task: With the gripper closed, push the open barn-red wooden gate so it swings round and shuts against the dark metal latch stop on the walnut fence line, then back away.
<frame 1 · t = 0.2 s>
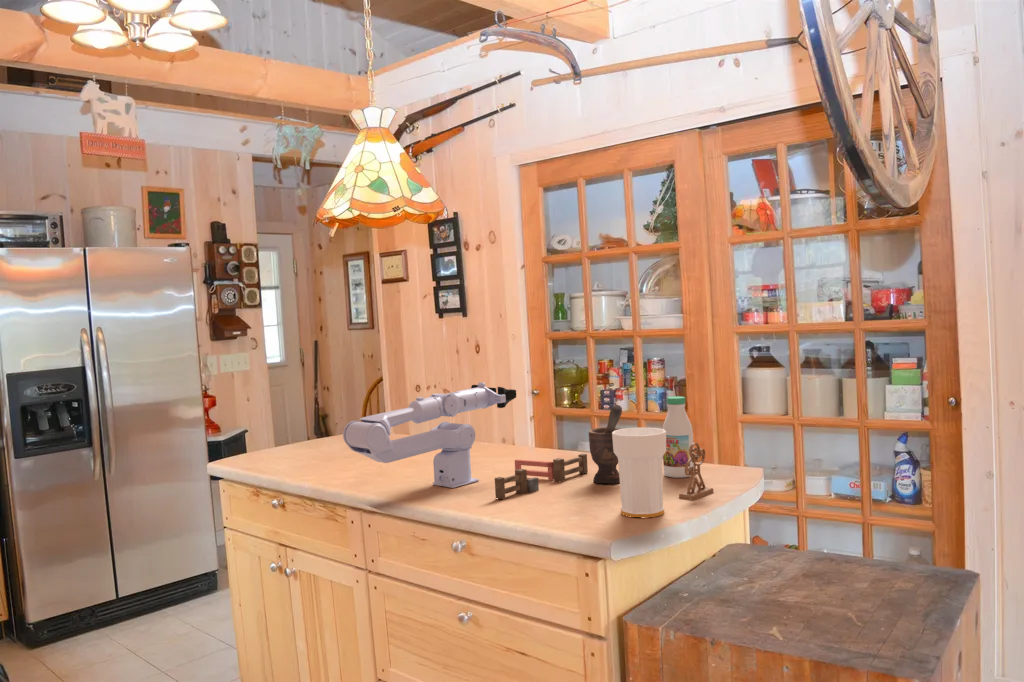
hand: (505, 392, 222), 21 cm above the table, tool horizontal, fingers open, 7 cm apart
milk bottle: (679, 476, 204), on the table
mortar and pestle: (612, 483, 200), on the table
gingerbread man figurine: (696, 496, 182), on the table
cup: (642, 513, 170), on the table
gate: (534, 469, 209), point 2 cm above the table, hinge at 80.0°
fence: (559, 480, 205), on the table
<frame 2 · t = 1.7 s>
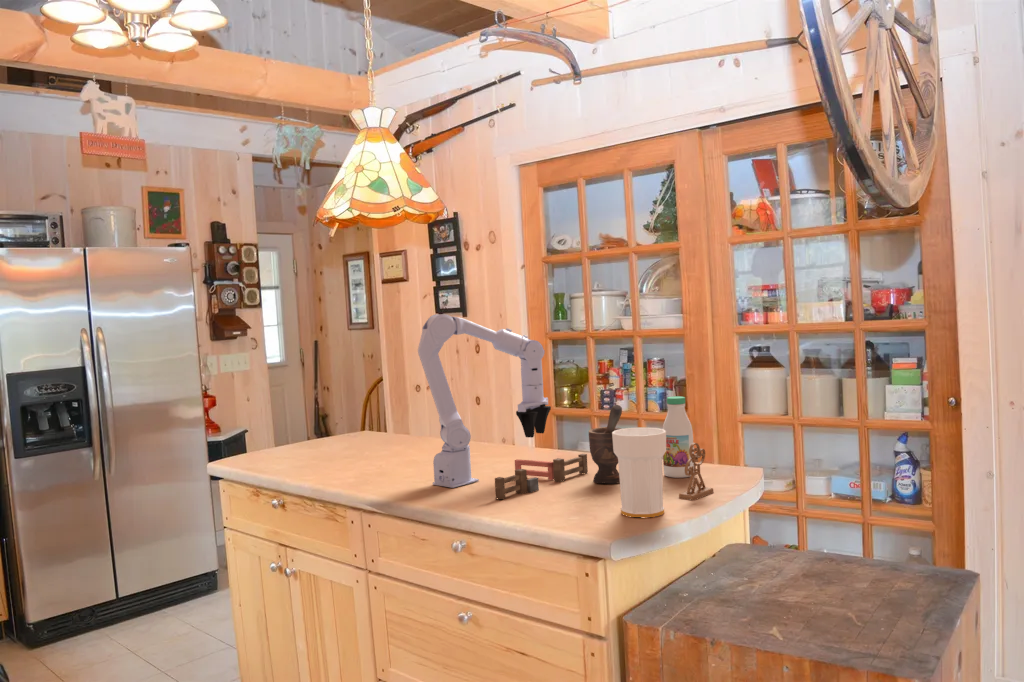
hand: (535, 435, 214), 10 cm above the table, tool pointing down, fingers open, 6 cm apart
nothing on the table moved.
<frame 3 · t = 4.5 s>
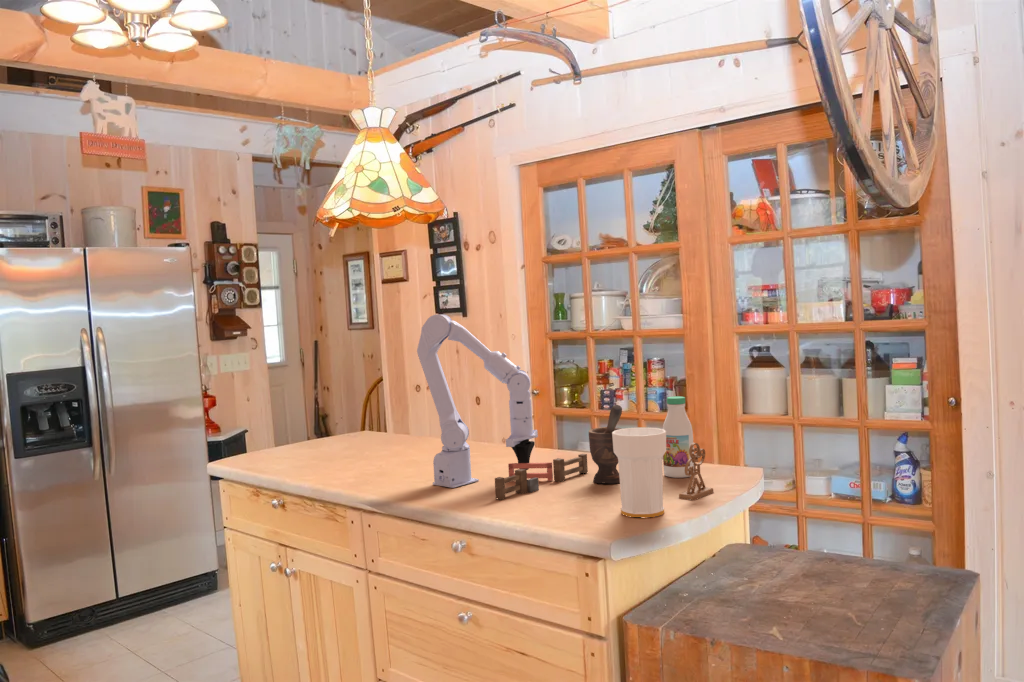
hand: (524, 469, 208), 3 cm above the table, tool pointing down, fingers closed, pressing on gate
gate: (530, 471, 206), point 2 cm above the table, hinge at 57.0°, touching gripper
everything else where it was.
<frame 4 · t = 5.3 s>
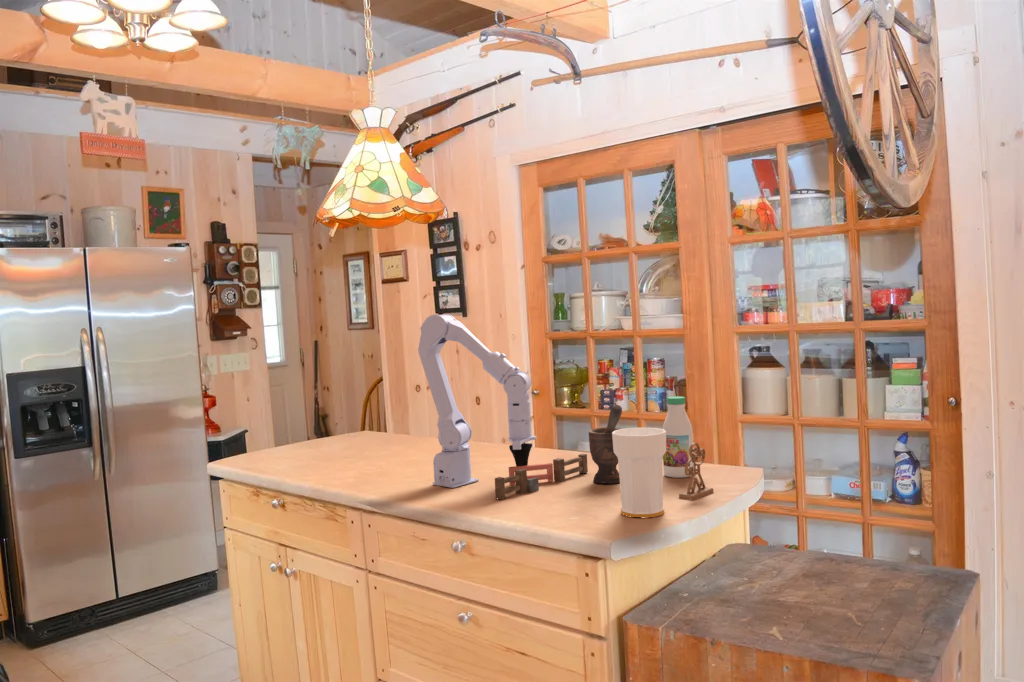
hand: (522, 472, 204), 3 cm above the table, tool pointing down, fingers closed, pressing on gate
gate: (531, 474, 203), point 2 cm above the table, hinge at 35.5°, touching gripper
everything else where it was.
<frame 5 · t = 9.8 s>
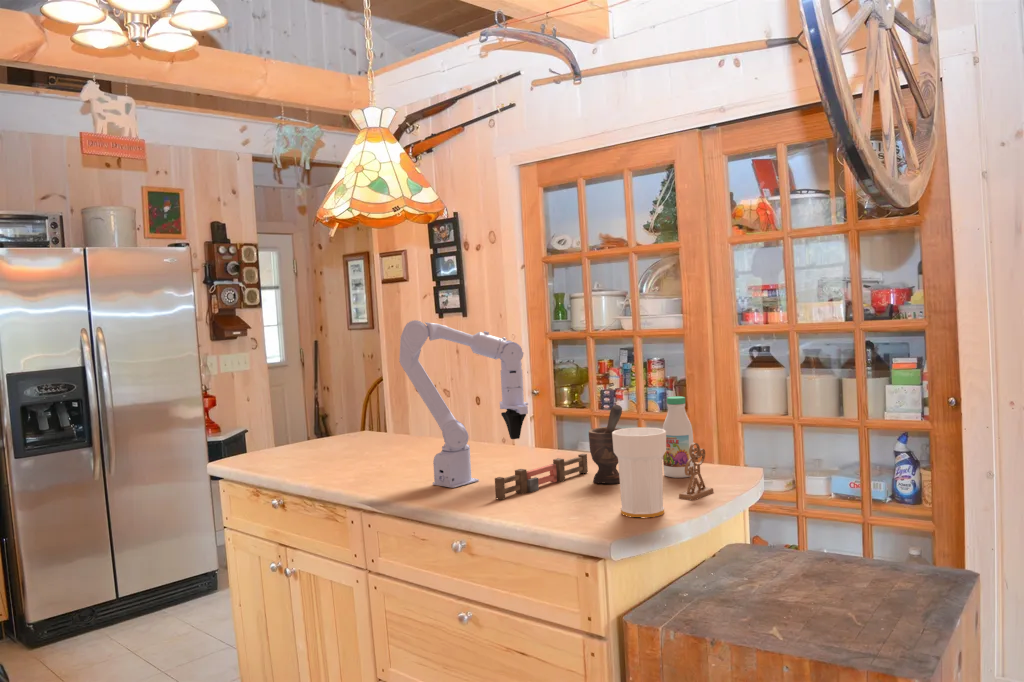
hand: (515, 438, 210), 10 cm above the table, tool pointing down, fingers closed
gate: (540, 476, 199), point 2 cm above the table, hinge at -0.7°
everything else where it was.
at the end: gate at -1° (first picture: +80°); gate touching nothing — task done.
